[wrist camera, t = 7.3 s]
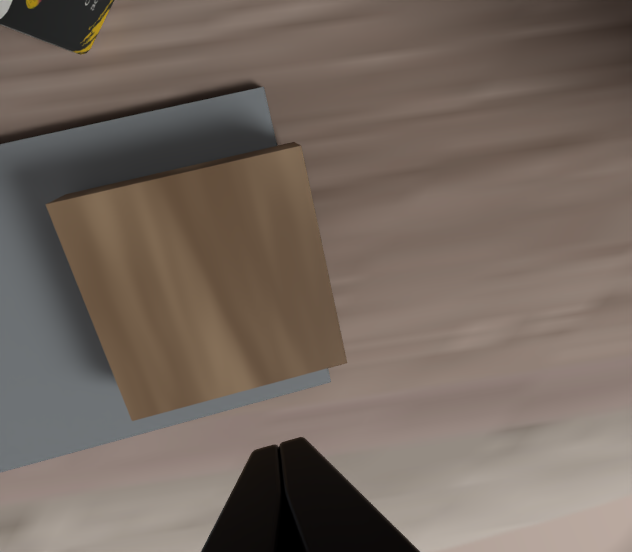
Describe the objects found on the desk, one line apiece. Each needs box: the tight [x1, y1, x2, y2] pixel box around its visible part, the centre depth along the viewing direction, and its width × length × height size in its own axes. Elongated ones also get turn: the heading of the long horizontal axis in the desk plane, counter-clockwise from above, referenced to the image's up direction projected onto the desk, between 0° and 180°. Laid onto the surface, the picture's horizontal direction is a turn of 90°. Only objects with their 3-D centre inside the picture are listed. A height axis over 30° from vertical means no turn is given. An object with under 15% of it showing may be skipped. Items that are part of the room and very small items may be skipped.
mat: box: [0, 87, 331, 472], centre depth 19 cm, size 14×12×1 cm
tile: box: [45, 142, 347, 421], centre depth 18 cm, size 2×8×8 cm
